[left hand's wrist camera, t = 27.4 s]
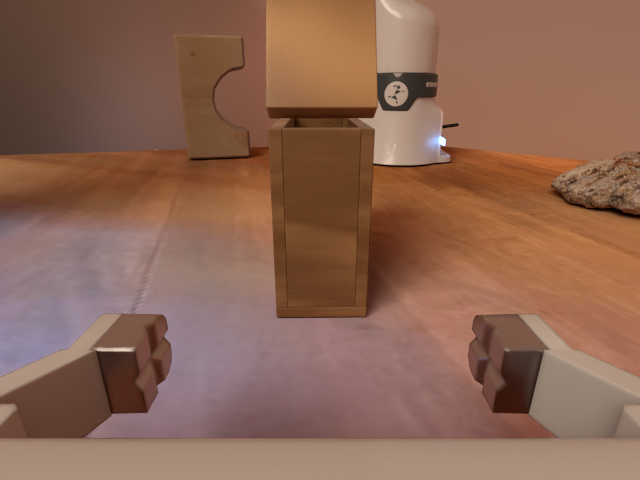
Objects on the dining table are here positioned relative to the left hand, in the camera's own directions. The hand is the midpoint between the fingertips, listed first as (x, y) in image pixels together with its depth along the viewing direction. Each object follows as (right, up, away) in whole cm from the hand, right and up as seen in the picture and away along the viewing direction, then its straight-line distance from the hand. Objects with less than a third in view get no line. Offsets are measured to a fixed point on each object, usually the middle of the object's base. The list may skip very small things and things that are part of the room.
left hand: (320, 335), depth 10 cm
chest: (0, +1, +18) cm, 18 cm away
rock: (+32, +7, +33) cm, 47 cm away
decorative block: (-19, +18, +63) cm, 69 cm away
